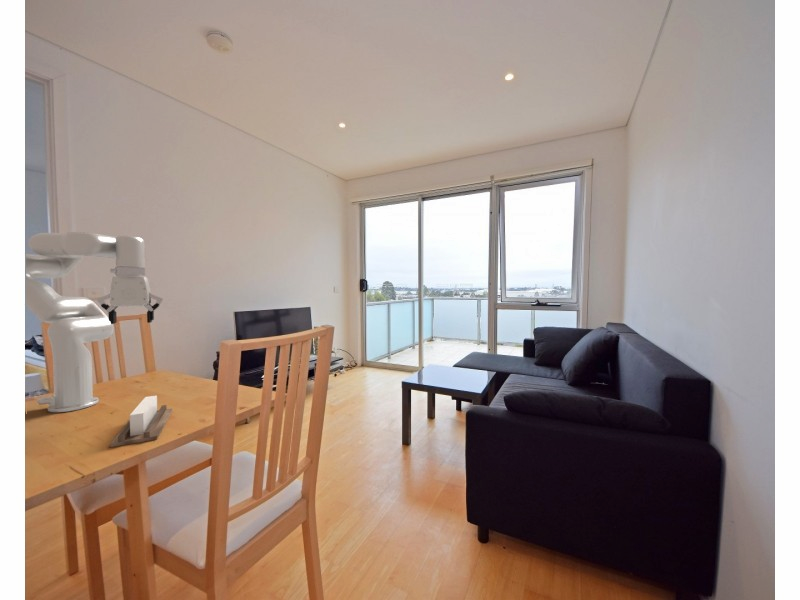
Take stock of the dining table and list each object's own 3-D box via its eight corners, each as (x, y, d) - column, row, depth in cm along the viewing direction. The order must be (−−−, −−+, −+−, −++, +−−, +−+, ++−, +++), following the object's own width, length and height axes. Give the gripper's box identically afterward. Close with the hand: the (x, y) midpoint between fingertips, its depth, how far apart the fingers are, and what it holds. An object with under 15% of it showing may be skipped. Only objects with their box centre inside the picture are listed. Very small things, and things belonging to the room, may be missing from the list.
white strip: (130, 436, 87) (129, 415, 87) (145, 415, 102) (145, 396, 101) (143, 434, 89) (143, 413, 88) (157, 413, 103) (156, 395, 103)
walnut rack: (110, 447, 83) (110, 438, 83) (135, 416, 103) (135, 409, 103) (157, 439, 88) (156, 430, 88) (172, 411, 107) (172, 404, 107)
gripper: (92, 271, 99) (93, 325, 100) (159, 273, 107) (160, 323, 107) (101, 272, 106) (102, 322, 106) (164, 274, 113) (165, 320, 114)
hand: (132, 322), depth 107 cm, fingers open, 9 cm apart
